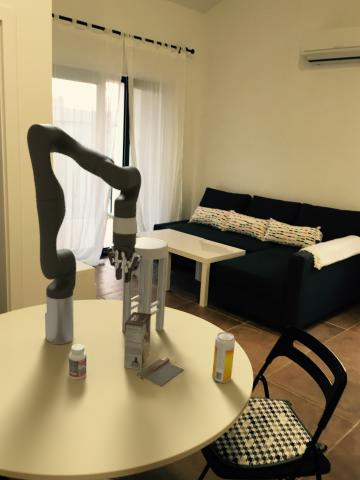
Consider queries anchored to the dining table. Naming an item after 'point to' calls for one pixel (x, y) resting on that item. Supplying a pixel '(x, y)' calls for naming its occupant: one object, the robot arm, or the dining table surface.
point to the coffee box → (137, 340)
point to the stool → (147, 281)
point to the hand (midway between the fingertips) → (123, 280)
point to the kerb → (154, 368)
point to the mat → (161, 372)
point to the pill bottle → (77, 362)
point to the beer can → (223, 357)
